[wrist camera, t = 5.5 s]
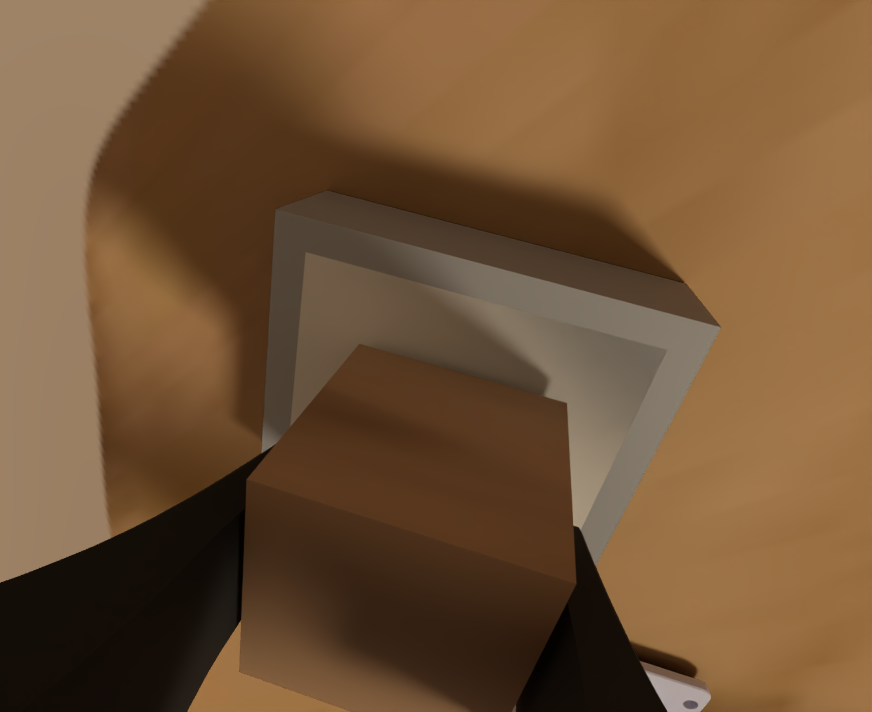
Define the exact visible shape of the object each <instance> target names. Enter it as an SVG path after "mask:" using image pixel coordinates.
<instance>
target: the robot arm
mask: <svg viewBox="0 0 872 712" xmlns="http://www.w3.org/2000/svg"><path fill="white" fill-rule="evenodd" d="M275 445H276V444H275ZM275 445H273V446H272V447H270V448H269V449H267V450H266V451H264V452H263V453H261V454H260V455H258V456H257V457H255V458H253V459H252V460H250V461H249V462H247V463H246V464H244V465H243V466H241V467H239V468H238V469H236V470H235V471H233V472H232V473H230V474H228V475H227V476H225V477H223V478H222V479H220V480H219V481H217V482H215V483H214V484H212V485H210V486H209V487H207V488H205V489H204V490H202V491H200V492H199V493H197V494H195V495H193V496H192V497H190V498H188V499H186V500H184V501H183V502H181V503H179V504H177V505H175V506H174V507H172V508H170V509H168V510H166V511H164V512H163V513H161V514H159V515H157V516H155V517H153V518H151V519H150V520H148V521H146V522H144V523H142V524H140V525H138V526H136V527H134V528H132V529H130V530H127V531H125V532H123V533H121V534H119V535H117V536H115V537H113V538H110V539H108V540H106V541H104V542H102V543H100V544H97V545H95V546H93V547H90V548H88V549H86V550H83V551H81V552H79V553H76V554H74V555H71V556H69V557H66V558H64V559H61V560H59V561H57V562H54V563H51V564H49V565H46V566H44V567H41V568H39V569H36V570H34V571H31V572H29V573H26V574H23V575H21V576H18V577H15V578H12V579H9V580H6V581H4V582H1V583H0V712H187V711H188V709H189V707H190V705H191V703H192V701H193V699H194V698H195V696H196V694H197V692H198V690H199V688H200V686H201V685H202V683H203V681H204V679H205V677H206V675H207V673H208V672H209V670H210V668H211V667H212V665H213V663H214V662H215V660H216V658H217V657H218V655H219V653H220V652H221V650H222V648H223V647H224V645H225V644H226V642H227V641H228V639H229V638H230V636H231V635H232V633H233V632H234V630H235V629H236V627H237V625H238V624H239V622H240V621H241V614H242V588H243V562H244V536H245V509H246V483H247V478H248V477H249V476H250V475H251V473H252V472H253V471H254V470H255V469H256V467H257V466H258V465H259V464H260V463H261V461H262V460H263V459H264V458H265V457H266V455H267V454H268V453H269V452H270V451H271V449H272V448H273V447H274V446H275ZM573 528H574V547H575V566H576V586H575V588H574V590H573V592H572V594H571V596H570V598H569V600H568V602H567V604H566V606H565V608H564V610H563V612H562V613H561V615H560V617H559V619H558V621H557V623H556V625H555V627H554V629H553V631H552V633H551V635H550V637H549V639H548V641H547V643H546V645H545V647H544V649H543V651H542V653H541V655H540V657H539V659H538V661H537V663H536V665H535V667H534V669H533V671H532V673H531V675H530V677H529V679H528V681H527V683H526V685H525V687H524V689H523V691H522V693H521V695H520V697H519V699H518V701H517V703H516V705H515V707H514V709H513V711H512V712H700V711H701V710H702V709H703V708H704V707H705V705H706V704H707V703H708V702H709V701H710V698H711V696H710V692H709V689H708V686H707V685H706V684H705V683H704V682H702V681H700V680H698V679H694V678H691V677H688V676H685V675H682V674H679V673H676V672H673V671H670V670H667V669H663V668H660V667H657V666H654V665H651V664H648V663H645V662H642V661H640V660H639V658H638V657H637V655H636V653H635V651H634V649H633V647H632V645H631V643H630V641H629V639H628V637H627V635H626V633H625V631H624V628H623V626H622V624H621V622H620V620H619V618H618V616H617V614H616V611H615V609H614V607H613V605H612V603H611V601H610V598H609V596H608V594H607V592H606V589H605V587H604V585H603V583H602V580H601V578H600V576H599V573H598V571H597V568H596V566H595V564H594V561H593V559H592V556H591V554H590V551H589V549H588V546H587V544H586V541H585V539H584V536H583V534H582V532H581V530H580V528H579V527H577V526H574V525H573Z"/></svg>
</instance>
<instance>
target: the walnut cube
mask: <svg viewBox="0 0 872 712" xmlns="http://www.w3.org/2000/svg"><path fill="white" fill-rule="evenodd" d="M575 586H576V566H575V547H574V528H573V508H572V489H571V470H570V450H569V431H568V412H567V403H565V402H562V401H558V400H555V399H551V398H548V397H544V396H541V395H537V394H534V393H530V392H527V391H523V390H520V389H516V388H513V387H509V386H506V385H502V384H499V383H495V382H492V381H488V380H485V379H481V378H478V377H474V376H471V375H467V374H464V373H460V372H457V371H453V370H450V369H446V368H443V367H439V366H436V365H432V364H429V363H425V362H421V361H418V360H414V359H411V358H407V357H404V356H400V355H397V354H393V353H390V352H386V351H383V350H379V349H376V348H372V347H369V346H365V345H362V344H359V345H358V346H357V347H356V348H355V350H354V351H353V352H352V353H351V354H350V356H349V357H348V358H347V359H346V360H345V362H344V363H343V364H342V365H341V366H340V368H339V369H338V370H337V371H336V373H335V374H334V375H333V376H332V377H331V379H330V380H329V381H328V382H327V383H326V385H325V386H324V387H323V388H322V389H321V391H320V392H319V393H318V394H317V395H316V397H315V398H314V399H313V400H312V401H311V403H310V404H309V405H308V406H307V407H306V409H305V410H304V411H303V412H302V413H301V415H300V416H299V417H298V418H297V419H296V421H295V422H294V423H293V424H292V425H291V427H290V428H289V429H288V430H287V431H286V433H285V434H284V435H283V436H282V437H281V439H280V440H279V441H278V442H277V443H276V445H275V446H274V447H273V448H272V449H271V451H270V452H269V453H268V454H267V455H266V457H265V458H264V459H263V460H262V461H261V463H260V464H259V465H258V466H257V467H256V469H255V470H254V471H253V472H252V473H251V475H250V476H249V477H248V478H247V483H246V509H245V536H244V562H243V588H242V614H241V640H240V666H239V672H241V673H244V674H246V675H249V676H252V677H255V678H258V679H261V680H263V681H266V682H269V683H272V684H275V685H278V686H280V687H283V688H286V689H289V690H292V691H294V692H297V693H300V694H303V695H306V696H309V697H311V698H314V699H317V700H320V701H323V702H325V703H328V704H331V705H334V706H337V707H340V708H342V709H345V710H348V711H351V712H512V711H513V709H514V707H515V705H516V703H517V701H518V699H519V697H520V695H521V693H522V691H523V689H524V687H525V685H526V683H527V681H528V679H529V677H530V675H531V673H532V671H533V669H534V667H535V665H536V663H537V661H538V659H539V657H540V655H541V653H542V651H543V649H544V647H545V645H546V643H547V641H548V639H549V637H550V635H551V633H552V631H553V629H554V627H555V625H556V623H557V621H558V619H559V617H560V615H561V613H562V612H563V610H564V608H565V606H566V604H567V602H568V600H569V598H570V596H571V594H572V592H573V590H574V588H575Z"/></svg>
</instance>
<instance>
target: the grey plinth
mask: <svg viewBox="0 0 872 712" xmlns="http://www.w3.org/2000/svg"><path fill="white" fill-rule="evenodd" d="M720 329H721V326H720V325H719V324H718V323H717V321H716V320H715V319H714V318H713V316H712V315H711V314H710V313H709V311H708V310H707V309H706V308H705V306H704V305H703V304H702V303H701V301H700V300H699V299H698V298H697V296H696V295H695V294H694V293H693V291H692V290H691V289H690V288H689V286H688V285H687V284H685V283H681V282H677V281H674V280H670V279H666V278H662V277H658V276H654V275H651V274H647V273H643V272H639V271H635V270H631V269H627V268H624V267H620V266H616V265H612V264H608V263H604V262H601V261H597V260H593V259H589V258H585V257H581V256H577V255H574V254H570V253H566V252H562V251H558V250H554V249H550V248H547V247H543V246H539V245H535V244H531V243H527V242H524V241H520V240H516V239H512V238H508V237H504V236H500V235H497V234H493V233H489V232H485V231H481V230H477V229H474V228H470V227H466V226H462V225H458V224H454V223H450V222H447V221H443V220H439V219H435V218H431V217H427V216H423V215H420V214H416V213H412V212H408V211H404V210H400V209H397V208H393V207H389V206H385V205H381V204H377V203H373V202H370V201H366V200H362V199H358V198H354V197H350V196H347V195H343V194H339V193H335V192H331V191H327V190H326V191H323V192H321V193H318V194H315V195H313V196H310V197H307V198H304V199H302V200H299V201H296V202H293V203H291V204H288V205H285V206H282V207H280V208H277V209H275V223H274V241H273V258H272V276H271V293H270V311H269V328H268V346H267V363H266V381H265V398H264V416H263V433H262V451H261V453H263V452H264V451H266V450H267V449H269V448H270V447H272V446H273V445H275V444H276V443H277V442H278V441H279V440H280V439H281V437H282V436H283V435H284V434H285V433H286V431H287V430H288V429H289V428H290V427H291V425H292V424H293V423H294V422H295V421H296V419H297V418H298V417H299V416H300V415H301V413H302V412H303V411H304V410H305V409H306V407H307V406H308V405H309V404H310V403H311V401H312V400H313V399H314V398H315V397H316V395H317V394H318V393H319V392H320V391H321V389H322V388H323V387H324V386H325V385H326V383H327V382H328V381H329V380H330V379H331V377H332V376H333V375H334V374H335V373H336V371H337V370H338V369H339V368H340V366H341V365H342V364H343V363H344V362H345V360H346V359H347V358H348V357H349V356H350V354H351V353H352V352H353V351H354V350H355V348H356V347H357V346H358V345H359V344H362V345H365V346H369V347H372V348H376V349H379V350H383V351H386V352H390V353H393V354H397V355H400V356H404V357H407V358H411V359H414V360H418V361H421V362H425V363H429V364H432V365H436V366H439V367H443V368H446V369H450V370H453V371H457V372H460V373H464V374H467V375H471V376H474V377H478V378H481V379H485V380H488V381H492V382H495V383H499V384H502V385H506V386H509V387H513V388H516V389H520V390H523V391H527V392H530V393H534V394H537V395H541V396H544V397H548V398H551V399H555V400H558V401H562V402H565V403H567V412H568V431H569V450H570V470H571V489H572V508H573V525H574V526H577V527H579V528H580V530H581V532H582V534H583V536H584V539H585V541H586V544H587V546H588V549H589V551H590V554H591V556H592V559H593V561H594V564H595V566H596V565H597V563H598V561H599V559H600V557H601V555H602V553H603V551H604V549H605V547H606V546H607V544H608V542H609V540H610V538H611V536H612V534H613V532H614V530H615V528H616V527H617V525H618V523H619V521H620V519H621V517H622V515H623V513H624V511H625V509H626V507H627V506H628V504H629V502H630V500H631V498H632V496H633V494H634V492H635V490H636V488H637V487H638V485H639V483H640V481H641V479H642V477H643V475H644V473H645V471H646V469H647V468H648V466H649V464H650V462H651V460H652V458H653V456H654V454H655V452H656V450H657V449H658V447H659V445H660V443H661V441H662V439H663V437H664V435H665V433H666V431H667V429H668V428H669V426H670V424H671V422H672V420H673V418H674V416H675V414H676V412H677V410H678V409H679V407H680V405H681V403H682V401H683V399H684V397H685V395H686V393H687V391H688V390H689V388H690V386H691V384H692V382H693V380H694V378H695V376H696V374H697V372H698V371H699V369H700V367H701V365H702V363H703V361H704V359H705V357H706V355H707V353H708V351H709V350H710V348H711V346H712V344H713V342H714V340H715V338H716V336H717V334H718V332H719V331H720Z"/></svg>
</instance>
